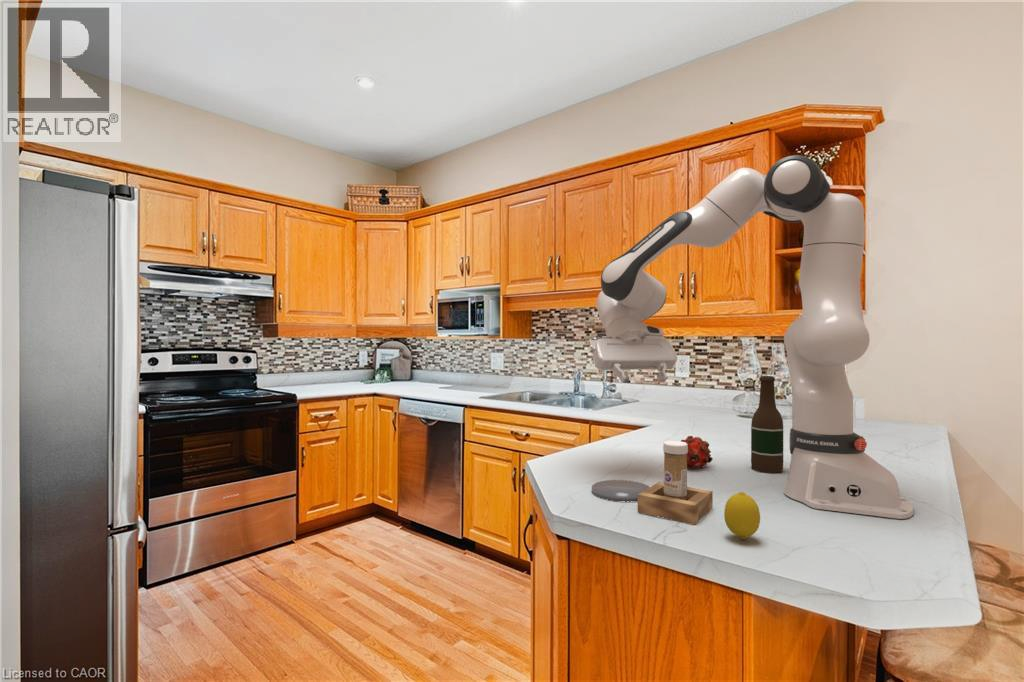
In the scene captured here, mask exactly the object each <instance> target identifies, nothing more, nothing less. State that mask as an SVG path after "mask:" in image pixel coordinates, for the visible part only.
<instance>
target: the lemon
mask: <svg viewBox="0 0 1024 682" xmlns="http://www.w3.org/2000/svg"><path fill="white" fill-rule="evenodd" d="M724 506H725V507H724V510H723V511H724V514H723V516H724V522H725V525H726V526H727V528H728V530H729V531H730V532H731V533H733V534H734V535H736V536H737V537H738V538H739V539H740V540H745V539H746V538H747V537H751V536H752V535H754V534H756V532H758V530H759V527H760V523H761V512H760V508H759V505H758V503H757V502H756V501H755V499H754V498H753V497H752V496H750V495H748V494H746V493H745V492H744V491H740V492H738V493H734V494H732V495H731V496H729V498H728V499H727V500H726V503H725V505H724Z"/></svg>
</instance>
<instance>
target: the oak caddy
mask: <svg viewBox="0 0 1024 682" xmlns="http://www.w3.org/2000/svg"><path fill="white" fill-rule="evenodd" d="M713 492H714V491H713V490H708V489H703V488H696V487H691V486H687V501H686V500H681V499H676V498H670V497H665V496H664V481H657V482H656V483H654V484H653V485H651V486H649V488H648V489H646V490H644V491H643V492H641V493H639V494H638V502H637V513H638V512H641V513H640V514H642V513H645V514H644V515H647V514H649V515H648V516H652V515H654V516H653V517H656V516H659V517H658V518H661V517H664V518H663V519H665V518H667V519H666V520H670V519H672V521H675V520H676V521H675V522H679V523H684V522H685V523H684V524H689V525H693V524H694V525H696V524H697V523H698V522H699V520H700V519H701V518H702V517H703V516H704V515H705V514H706V513H707V514H709V513H710V512H711V511H712V510H711V509H712V508H713V500H714V499H713V498H714V497H713ZM707 514H706V515H707ZM706 515H705V516H706ZM705 516H704V517H705ZM704 517H703V518H704ZM703 518H702V519H703ZM700 521H701V520H700Z"/></svg>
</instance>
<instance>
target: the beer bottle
mask: <svg viewBox="0 0 1024 682" xmlns="http://www.w3.org/2000/svg"><path fill="white" fill-rule="evenodd" d="M759 381H760V386H759V387H760V389H759V402H758V408H757V409H756V410H755V412H753V415H752V418H751V423H750V425H751V426H750V433H751V434H750V446H751V447H750V448H751V449H750V464H751V465H750V466H751V470H753V471H756V472H758V473H764V474H773V475H774V474H781V473H782V472H783V470H784V420H783V416H782V415H781V412H780V411H779V410H778V408H777V406H776V405H777V402H776V395H775V382H776V377H775V376H773V375H762V376H760V378H759Z"/></svg>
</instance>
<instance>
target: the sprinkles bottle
mask: <svg viewBox="0 0 1024 682" xmlns="http://www.w3.org/2000/svg"><path fill="white" fill-rule="evenodd" d="M662 449H663V450H662V451H663V454H664V456H663V457H664V458H663V460H664V461H663V465H664V466H663V474H664V475H663V483H664V496H665V497H670V498H676V499H681V500H686V501H687V487H688V468H687V453H688V444H687V443H685V442H681V440H665V441H664V442H663V447H662Z"/></svg>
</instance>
